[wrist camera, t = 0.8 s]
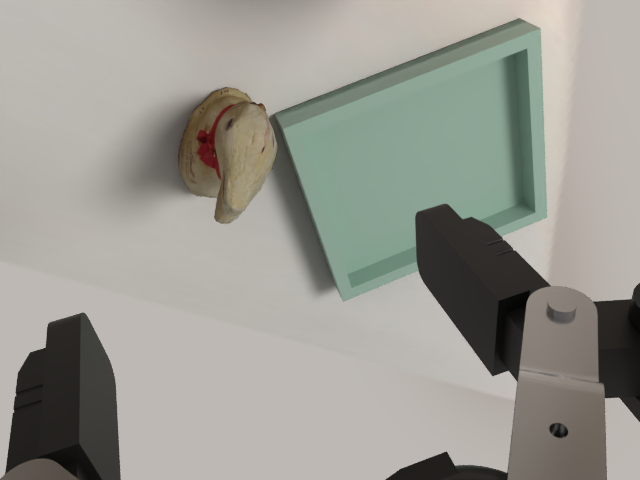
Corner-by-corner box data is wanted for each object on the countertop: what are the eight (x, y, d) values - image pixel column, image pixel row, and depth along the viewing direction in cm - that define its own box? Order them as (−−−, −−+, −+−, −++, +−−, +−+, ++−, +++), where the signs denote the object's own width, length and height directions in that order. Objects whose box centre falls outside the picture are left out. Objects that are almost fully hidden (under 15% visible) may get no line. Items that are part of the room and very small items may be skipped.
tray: (333, 282, 49) (343, 301, 47) (274, 113, 39) (282, 129, 37) (530, 202, 50) (547, 217, 48) (519, 18, 40) (540, 28, 39)
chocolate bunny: (288, 125, 40) (331, 199, 32) (202, 197, 42) (223, 285, 34) (235, 65, 37) (268, 131, 29) (143, 145, 38) (151, 229, 30)
